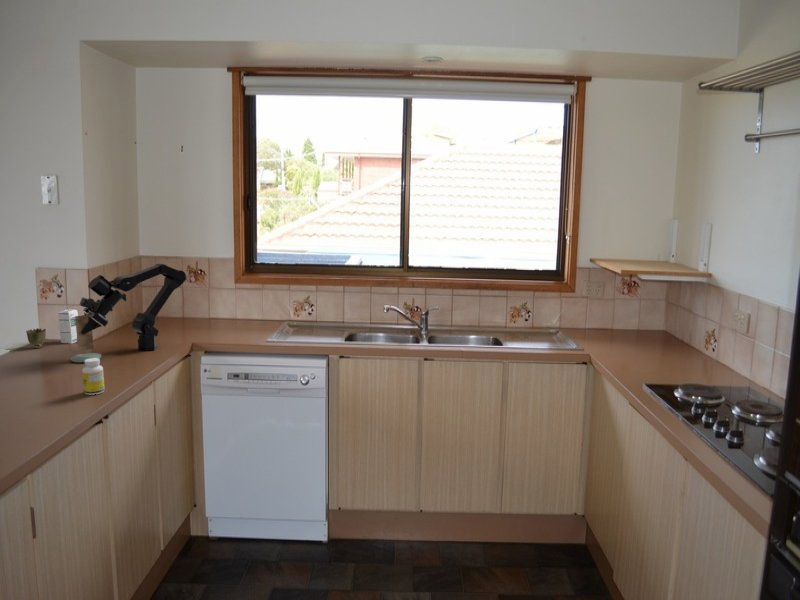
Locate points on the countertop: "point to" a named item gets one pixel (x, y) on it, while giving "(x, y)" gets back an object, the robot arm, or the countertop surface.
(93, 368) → the pill bottle
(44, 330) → the cup
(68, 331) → the syrup box
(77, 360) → the dish
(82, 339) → the walnut block
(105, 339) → the countertop surface
